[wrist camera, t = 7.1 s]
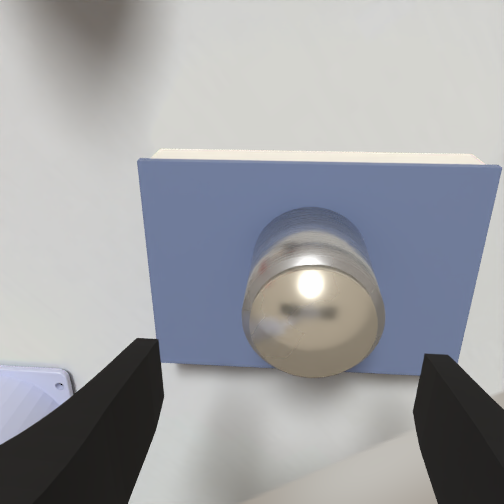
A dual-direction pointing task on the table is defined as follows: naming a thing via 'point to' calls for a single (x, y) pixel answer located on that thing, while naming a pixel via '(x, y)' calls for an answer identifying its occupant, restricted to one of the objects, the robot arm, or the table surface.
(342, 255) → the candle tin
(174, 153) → the book
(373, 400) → the table surface
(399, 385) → the table surface
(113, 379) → the robot arm
